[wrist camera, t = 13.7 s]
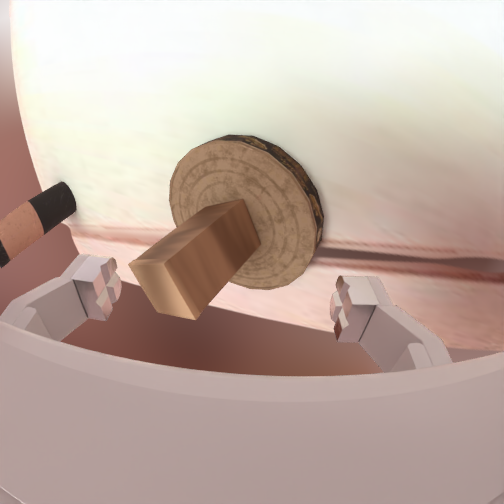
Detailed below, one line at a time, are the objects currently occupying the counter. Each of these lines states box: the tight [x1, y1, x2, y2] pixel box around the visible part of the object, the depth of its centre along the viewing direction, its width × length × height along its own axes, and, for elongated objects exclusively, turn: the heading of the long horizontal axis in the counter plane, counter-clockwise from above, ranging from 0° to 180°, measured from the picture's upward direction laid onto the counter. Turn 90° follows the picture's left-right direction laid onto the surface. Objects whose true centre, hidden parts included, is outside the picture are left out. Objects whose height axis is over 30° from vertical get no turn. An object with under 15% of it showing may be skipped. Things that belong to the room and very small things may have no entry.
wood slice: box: [169, 135, 324, 290], centre depth 27 cm, size 16×16×3 cm
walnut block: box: [128, 199, 261, 320], centre depth 23 cm, size 5×5×10 cm
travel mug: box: [0, 182, 76, 268], centre depth 40 cm, size 8×8×20 cm
